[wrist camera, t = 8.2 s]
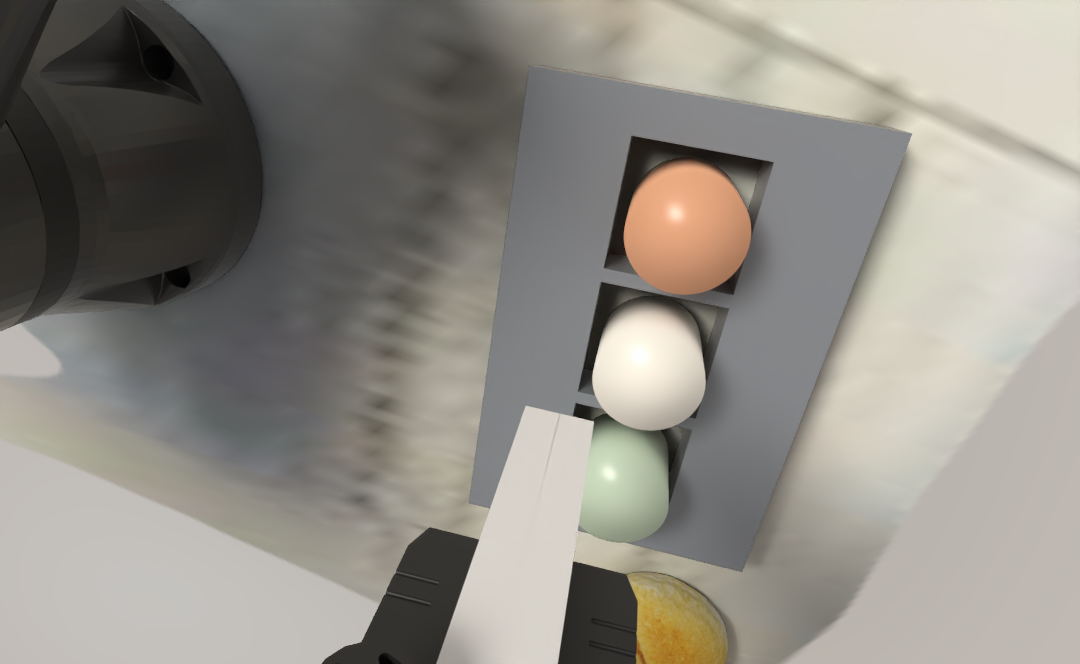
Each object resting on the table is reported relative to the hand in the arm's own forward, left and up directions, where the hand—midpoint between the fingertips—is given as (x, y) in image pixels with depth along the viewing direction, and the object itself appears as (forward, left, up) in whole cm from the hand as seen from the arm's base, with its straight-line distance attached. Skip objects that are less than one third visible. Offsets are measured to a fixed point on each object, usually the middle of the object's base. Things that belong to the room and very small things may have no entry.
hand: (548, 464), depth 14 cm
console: (+3, -3, -16) cm, 17 cm away
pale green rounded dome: (+3, -9, -15) cm, 18 cm away
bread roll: (+6, -21, -17) cm, 28 cm away
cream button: (+3, -3, -15) cm, 16 cm away
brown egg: (+3, +3, -15) cm, 16 cm away
